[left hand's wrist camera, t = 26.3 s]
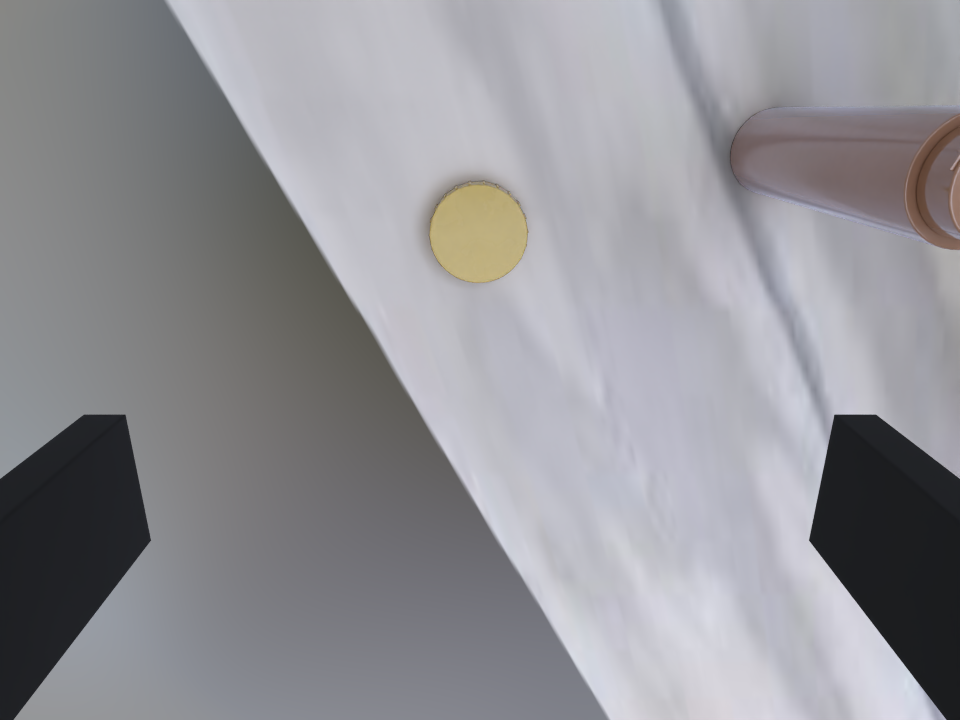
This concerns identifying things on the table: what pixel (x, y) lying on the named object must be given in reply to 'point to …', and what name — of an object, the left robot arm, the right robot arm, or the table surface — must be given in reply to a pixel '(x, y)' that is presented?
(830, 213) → the pinkish brown bottle
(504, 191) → the lid
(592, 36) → the table surface
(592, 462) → the table surface
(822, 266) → the table surface
